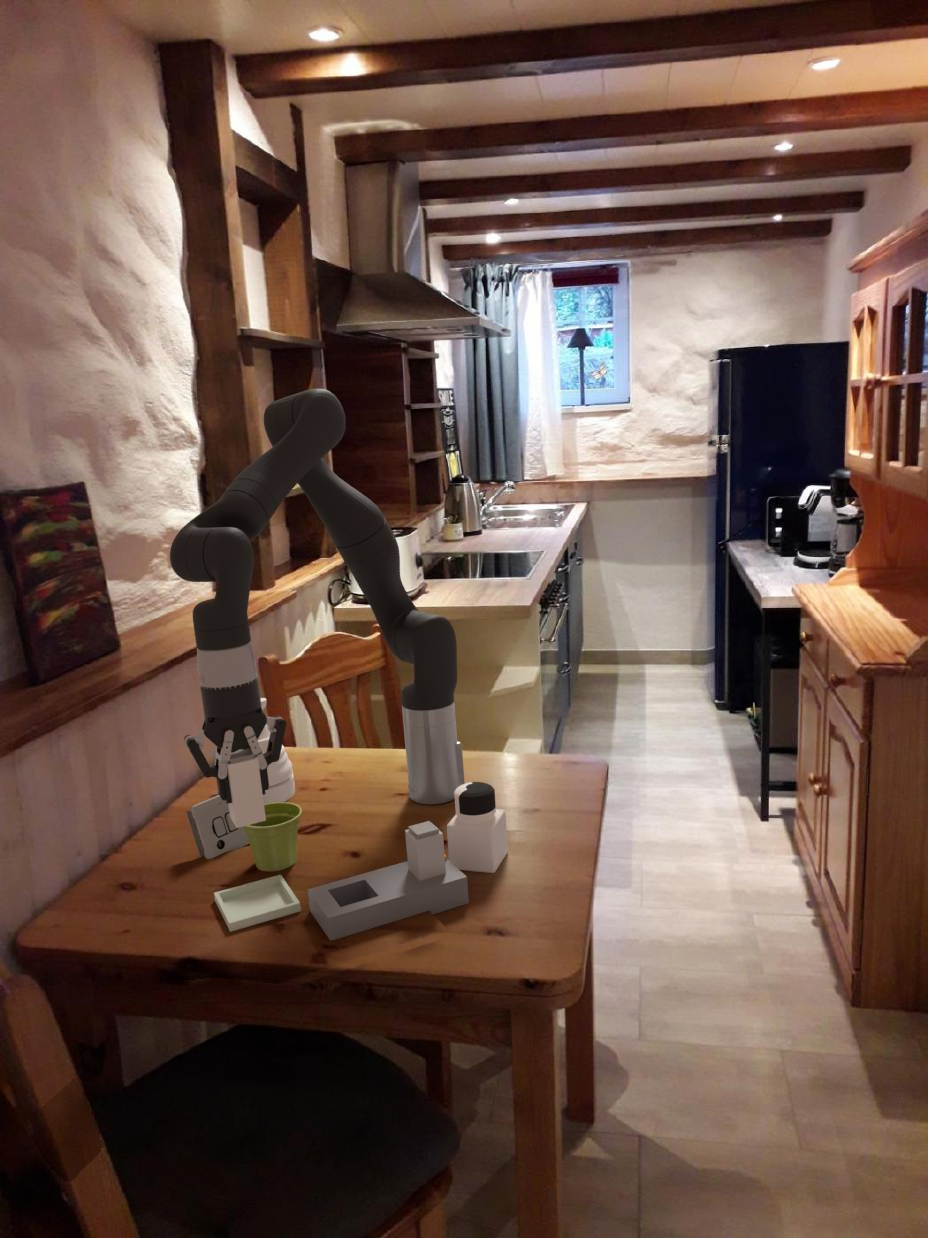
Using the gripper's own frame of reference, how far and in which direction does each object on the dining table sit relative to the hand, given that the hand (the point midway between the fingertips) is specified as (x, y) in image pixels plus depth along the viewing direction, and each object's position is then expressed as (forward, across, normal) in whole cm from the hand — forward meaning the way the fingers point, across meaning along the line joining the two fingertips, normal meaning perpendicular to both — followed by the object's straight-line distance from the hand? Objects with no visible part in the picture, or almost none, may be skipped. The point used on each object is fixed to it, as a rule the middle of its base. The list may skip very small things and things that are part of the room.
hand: (244, 796), depth 130 cm
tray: (+17, 0, 0) cm, 17 cm away
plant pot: (+17, -6, -12) cm, 22 cm away
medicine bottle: (+18, -33, +4) cm, 37 cm away
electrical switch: (+17, 0, -23) cm, 29 cm away
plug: (+3, 0, 0) cm, 3 cm away
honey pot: (+18, -11, -42) cm, 47 cm away
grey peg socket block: (+17, -16, +10) cm, 25 cm away
